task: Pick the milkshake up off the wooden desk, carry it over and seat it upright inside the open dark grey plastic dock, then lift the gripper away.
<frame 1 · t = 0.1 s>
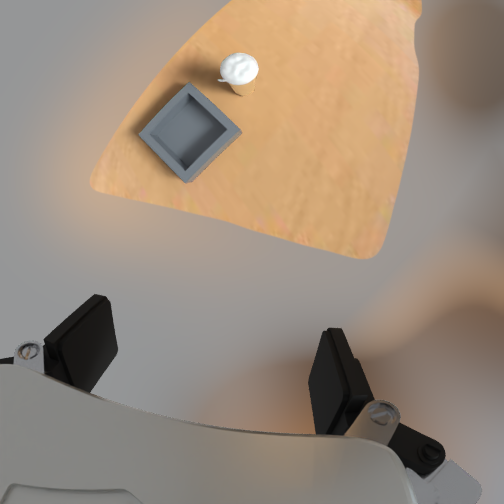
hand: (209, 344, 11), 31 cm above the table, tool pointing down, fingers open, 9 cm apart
dock: (193, 133, 37), on the table
milkshake: (242, 88, 35), on the table
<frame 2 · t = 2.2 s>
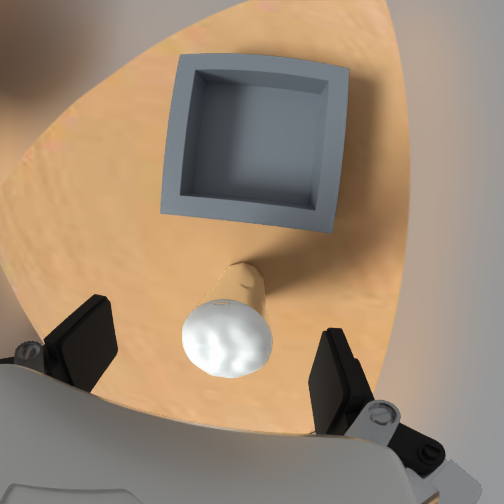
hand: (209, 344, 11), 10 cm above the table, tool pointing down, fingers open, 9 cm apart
dock: (257, 141, 18), on the table
milkshake: (242, 276, 21), on the table
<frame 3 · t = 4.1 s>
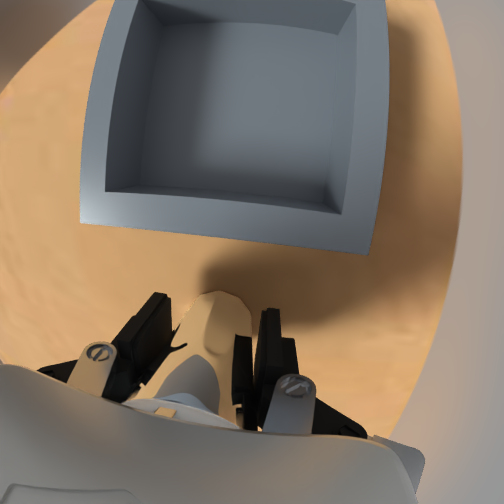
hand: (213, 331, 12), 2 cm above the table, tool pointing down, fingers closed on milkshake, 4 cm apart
dock: (239, 101, 11), on the table
milkshake: (220, 309, 14), on the table, touching gripper
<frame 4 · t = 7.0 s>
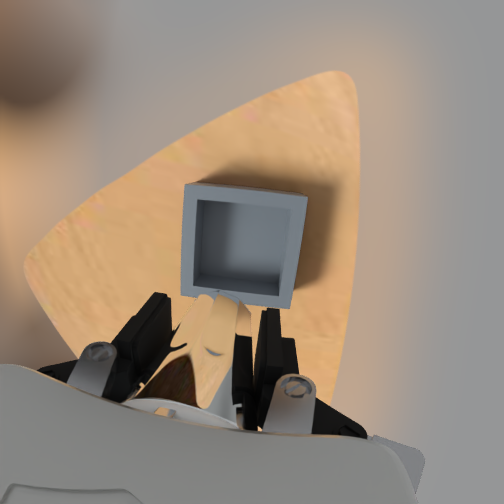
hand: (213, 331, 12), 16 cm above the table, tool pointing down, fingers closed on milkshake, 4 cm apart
dock: (242, 239, 27), on the table
milkshake: (220, 309, 14), point 14 cm above the table, touching gripper
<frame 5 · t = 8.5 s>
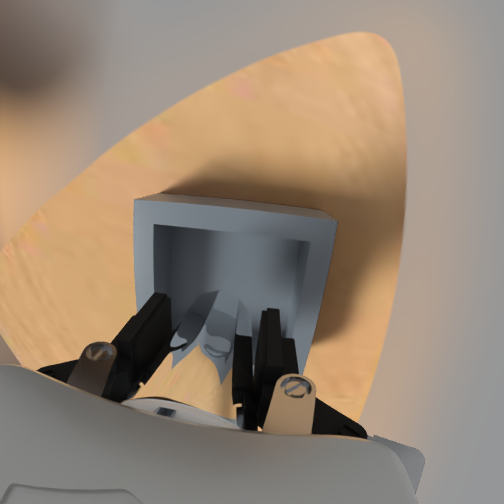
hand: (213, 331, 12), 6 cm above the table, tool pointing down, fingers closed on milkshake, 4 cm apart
dock: (231, 279, 18), on the table
milkshake: (220, 309, 14), point 4 cm above the table, touching gripper
when the fingers open (4 cm above the table, at t = 9.8 s): milkshake drops 1 cm, resting on dock.
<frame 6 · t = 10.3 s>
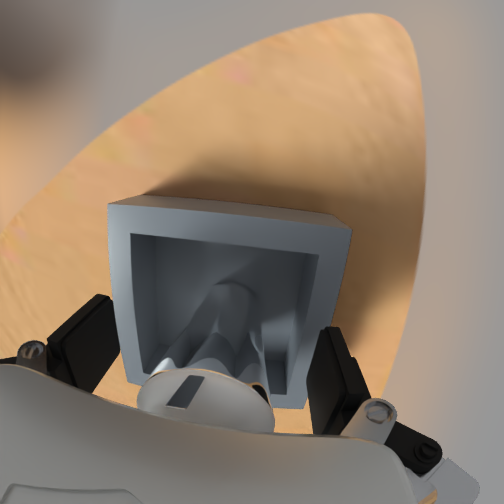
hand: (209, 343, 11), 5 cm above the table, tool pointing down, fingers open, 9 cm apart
dock: (225, 293, 16), on the table
milkshake: (230, 299, 15), resting on dock
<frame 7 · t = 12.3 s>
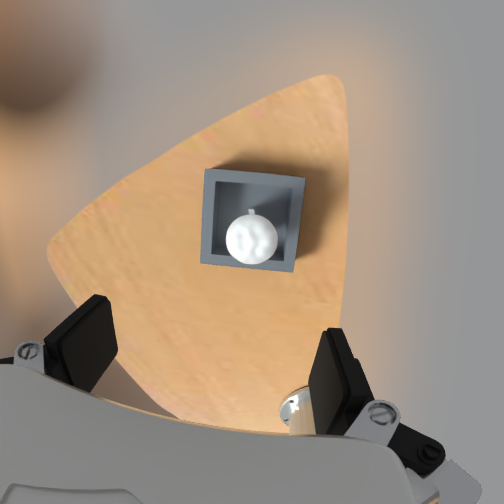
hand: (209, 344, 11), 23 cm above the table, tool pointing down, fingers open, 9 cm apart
dock: (252, 215, 32), on the table
milkshake: (254, 217, 32), resting on dock
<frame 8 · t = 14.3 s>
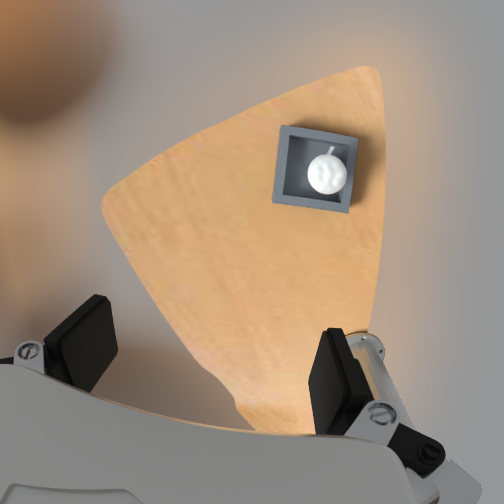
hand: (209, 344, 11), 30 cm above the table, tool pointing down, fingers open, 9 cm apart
dock: (312, 169, 37), on the table
milkshake: (315, 170, 37), resting on dock
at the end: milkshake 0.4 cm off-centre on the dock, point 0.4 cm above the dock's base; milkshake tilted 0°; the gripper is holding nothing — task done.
